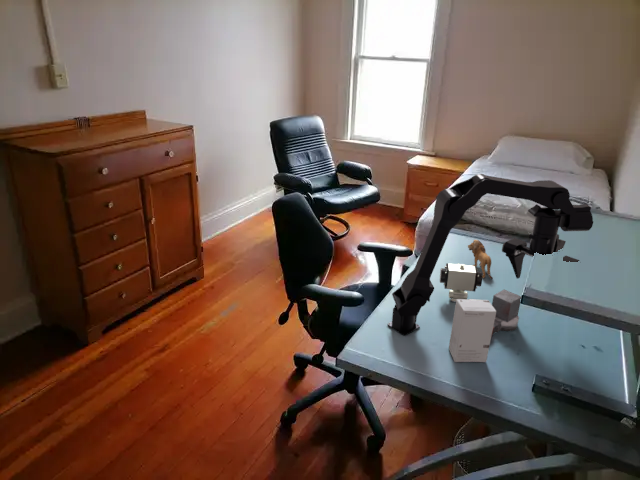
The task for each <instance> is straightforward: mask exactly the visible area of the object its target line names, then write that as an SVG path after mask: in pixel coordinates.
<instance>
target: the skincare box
mask: <svg viewBox="0 0 640 480" xmlns="http://www.w3.org/2000/svg"><path fill="white" fill-rule="evenodd" d="M453 312H454V313H453V319H452V326H451V330H450V331H451V332H450V337H449V338H450V339H449V344H448V349H449V352H450V354H451V357H452V359H453V362H454V363H469V362H470V363H473V362H474V363H475V362H476V363H486V362H487V361H488V355H489V351H490V345H491V339H492V337H493V335H492V330H493V326H494V321H495V316H496V310H495V309H494V307H493V306H492V303H491V302H490V300H489V299H477V298H476V299H475V298H474V299H473V298H470V299H468V298H467V299H456V302H455V306H454V311H453ZM491 336H492V337H491Z"/></svg>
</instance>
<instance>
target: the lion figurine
mask: <svg viewBox="0 0 640 480" xmlns="http://www.w3.org/2000/svg"><path fill="white" fill-rule="evenodd" d="M467 248H468V250H469V251H471V253H472V254H473V257H474V259H473V261H474V264H472V266H477V267H478V266H479V267H481V272H482V279H484V278H486V274H487V275H488V277H489V278H490V279H491V280H493V276H492V275H491V266H492V258H491V256H490V255H488V254H487V252H486V248H485V246H484V244H483V243H482V241H480V240H478V239H473V241H472V242H471V243H470V244H469V245H467ZM478 261H479V265H478ZM485 268H486V270H487V271H485Z"/></svg>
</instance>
